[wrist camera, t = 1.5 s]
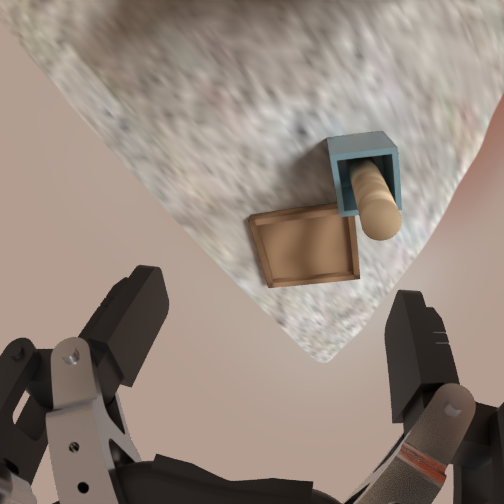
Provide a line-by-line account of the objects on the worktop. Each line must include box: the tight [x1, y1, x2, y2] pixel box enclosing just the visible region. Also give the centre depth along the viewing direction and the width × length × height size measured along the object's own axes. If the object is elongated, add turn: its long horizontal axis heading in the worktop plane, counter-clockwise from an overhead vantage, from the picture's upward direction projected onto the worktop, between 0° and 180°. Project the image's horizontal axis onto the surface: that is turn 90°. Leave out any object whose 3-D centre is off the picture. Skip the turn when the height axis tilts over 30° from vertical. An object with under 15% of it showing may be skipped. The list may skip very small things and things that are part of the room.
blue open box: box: [327, 131, 402, 217], centre depth 32 cm, size 7×7×7 cm
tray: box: [249, 203, 360, 288], centre depth 42 cm, size 13×11×2 cm
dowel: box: [346, 156, 402, 241], centre depth 28 cm, size 3×3×14 cm
